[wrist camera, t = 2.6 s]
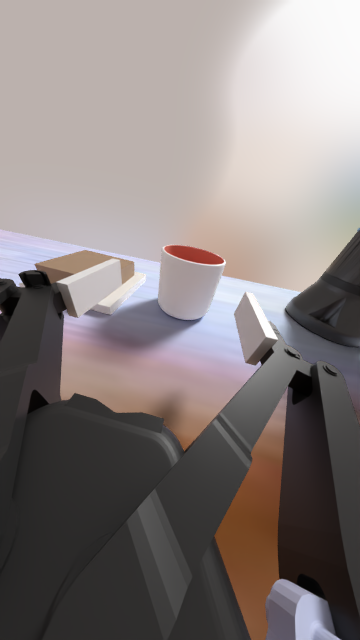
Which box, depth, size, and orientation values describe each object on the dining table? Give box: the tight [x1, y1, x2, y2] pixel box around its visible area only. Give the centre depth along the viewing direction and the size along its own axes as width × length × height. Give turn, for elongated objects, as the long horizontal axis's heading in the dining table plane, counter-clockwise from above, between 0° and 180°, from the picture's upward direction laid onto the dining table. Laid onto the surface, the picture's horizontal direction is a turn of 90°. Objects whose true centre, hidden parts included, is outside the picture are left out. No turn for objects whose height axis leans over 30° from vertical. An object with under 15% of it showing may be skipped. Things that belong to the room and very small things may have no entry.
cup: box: [158, 245, 226, 320], centre depth 25 cm, size 10×10×10 cm
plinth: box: [19, 250, 146, 315], centre depth 27 cm, size 15×15×4 cm
